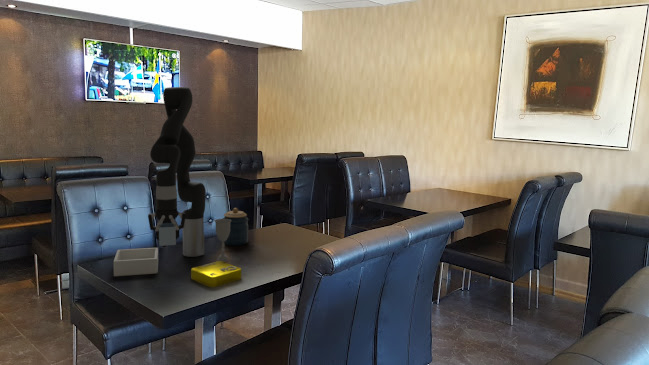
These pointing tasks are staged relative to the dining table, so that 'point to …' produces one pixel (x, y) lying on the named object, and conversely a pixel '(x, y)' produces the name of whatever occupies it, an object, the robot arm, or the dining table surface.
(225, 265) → the element tile
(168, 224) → the small crate
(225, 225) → the chalice
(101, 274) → the dining table surface
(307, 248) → the dining table surface
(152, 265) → the large crate
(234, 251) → the dining table surface
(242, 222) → the canister
